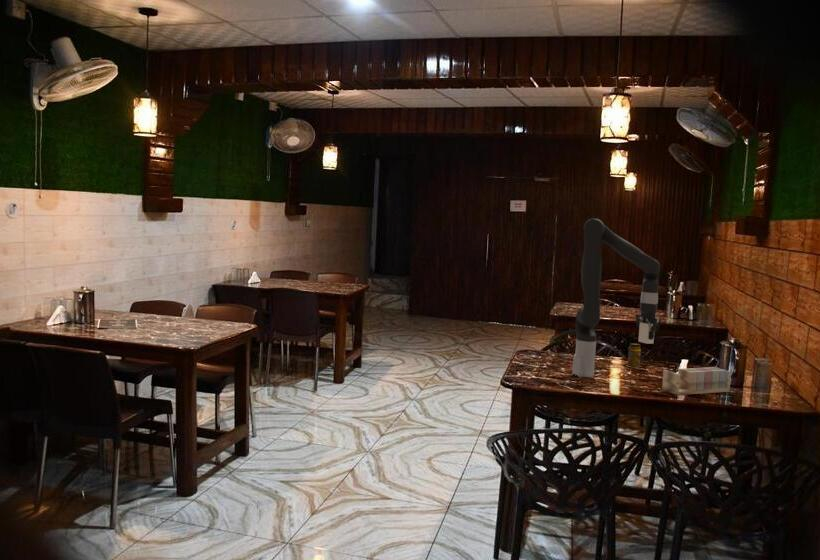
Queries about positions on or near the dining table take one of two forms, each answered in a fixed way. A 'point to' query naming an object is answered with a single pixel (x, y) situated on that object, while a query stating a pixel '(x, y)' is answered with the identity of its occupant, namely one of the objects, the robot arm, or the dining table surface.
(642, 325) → the cream block
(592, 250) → the robot arm
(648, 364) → the dining table surface
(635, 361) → the condiment
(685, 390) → the pastel slab stack
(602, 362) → the dining table surface
